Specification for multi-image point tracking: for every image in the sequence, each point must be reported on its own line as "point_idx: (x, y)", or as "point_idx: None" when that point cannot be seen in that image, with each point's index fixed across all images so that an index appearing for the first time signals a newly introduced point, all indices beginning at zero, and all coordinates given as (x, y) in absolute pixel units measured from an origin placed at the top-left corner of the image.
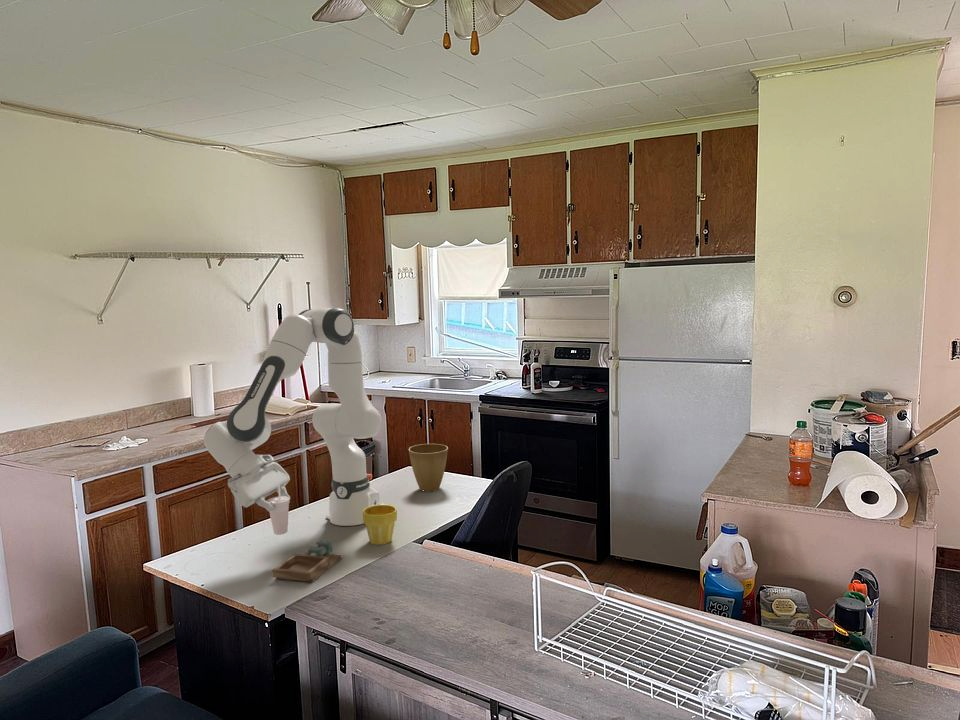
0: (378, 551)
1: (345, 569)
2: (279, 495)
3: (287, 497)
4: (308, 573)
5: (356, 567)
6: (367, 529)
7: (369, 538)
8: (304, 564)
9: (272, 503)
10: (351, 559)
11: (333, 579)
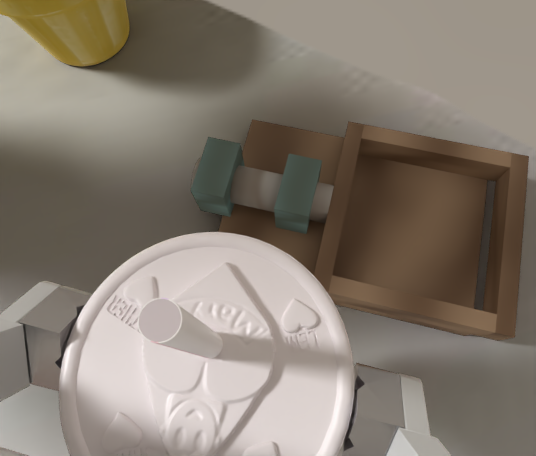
0: (195, 21)
1: (358, 89)
2: (212, 336)
3: (131, 274)
4: (528, 157)
5: (339, 59)
6: (87, 24)
7: (99, 51)
8: (349, 239)
9: (361, 397)
10: (264, 91)
11: (449, 107)
